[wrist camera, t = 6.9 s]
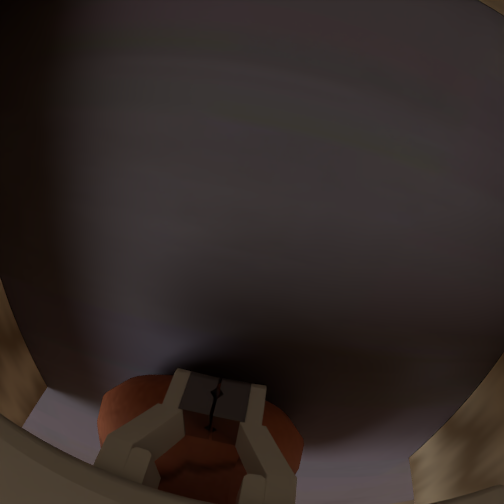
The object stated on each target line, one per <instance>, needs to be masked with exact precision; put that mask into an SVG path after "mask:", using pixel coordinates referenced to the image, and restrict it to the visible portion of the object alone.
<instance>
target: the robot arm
mask: <svg viewBox="0 0 504 504" xmlns="http://www.w3.org/2000/svg"><path fill="white" fill-rule="evenodd" d="M219 385H220V378H217V377H213V376H209V375H204V374H200V373H196V372H192V371H188V370H184V369H180V368H177V370H176V371H175V373H174V376H173V378H172V380H171V383H170V385H169V388H168V390H167V393H166V395H165V398H164V400H163V403H162V404H159V403H158V404H156V405H155V406H153V407H151V408H150V409H148V410H147V411H145V412H144V413H142V414H140V415H139V416H137V417H136V418H134V419H133V420H131V421H129V422H128V423H126V424H124V425H123V426H121V427H120V428H118V429H116V430H115V431H113V432H111V433H110V434H108V435H107V437H106V439H105V441H104V443H103V445H102V447H101V450H100V452H99V454H98V456H97V458H96V460H95V463H94V465H91V464H89V463H86V462H84V461H82V460H80V459H78V458H76V457H74V456H72V455H70V454H68V453H66V452H64V451H62V450H60V449H58V448H56V447H54V446H52V445H51V444H49V443H47V442H45V441H43V440H42V439H40V438H38V437H36V436H35V435H33V434H31V433H30V432H28V431H26V430H25V429H23V428H22V427H20V426H18V425H17V424H15V423H14V422H12V421H11V420H9V419H8V418H6V417H5V416H3V415H2V414H1V413H0V504H215V503H210V502H205V501H200V500H196V499H192V498H188V497H183V496H180V495H176V494H172V493H169V492H165V491H162V490H158V486H159V483H160V479H161V477H160V475H159V472H158V470H157V467H156V465H155V462H154V461H155V460H157V459H158V458H159V457H160V456H162V455H163V454H164V453H165V452H167V451H168V450H169V449H170V448H171V447H173V446H174V445H175V444H176V443H177V442H179V441H180V440H181V439H182V438H183V437H184V436H185V435H188V436H193V437H198V438H203V439H208V440H209V436H210V431H211V427H212V426H213V430H212V441H217V442H221V443H226V444H231V445H235V447H236V450H237V452H238V454H239V456H240V459H241V461H242V463H243V466H244V468H245V470H246V472H247V475H245V476H244V478H243V480H242V483H241V486H240V489H239V491H238V494H237V499H236V504H295V497H296V484H297V477H296V476H295V474H294V473H293V471H292V469H291V468H290V466H289V464H288V463H287V461H286V459H285V458H284V456H283V454H282V453H281V451H280V449H279V448H278V446H277V444H276V442H275V441H274V439H273V437H272V436H271V434H270V432H269V430H268V429H267V427H266V426H262V421H263V413H264V405H265V398H266V390H267V388H266V385H259V384H251V383H249V382H242V381H236V380H231V379H225V378H223V380H222V383H221V386H220V394H219V390H218V389H219ZM218 397H219V398H218ZM213 412H214V414H212V413H213ZM429 504H504V486H503V485H495V486H492V487H489V488H486V489H483V490H479V491H476V492H473V493H470V494H466V495H463V496H459V497H455V498H451V499H447V500H443V501H438V502H434V503H429Z"/></svg>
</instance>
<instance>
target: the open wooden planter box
mask: <svg viewBox="0 0 504 504" xmlns="http://www.w3.org/2000/svg"><path fill="white" fill-rule="evenodd" d="M479 1H480V2H482V3H484V4H486V5H487V6H489V7H491V8H492V9H494V10H496V11H497V12H499V13H500V14H502V15H504V0H479ZM46 388H47V386H46V384H45V382H44V380H43V378H42V376H41V375H40V373H39V371H38V369H37V367H36V365H35V363H34V361H33V359H32V357H31V355H30V352H29V350H28V348H27V346H26V344H25V342H24V339H23V337H22V335H21V332H20V330H19V328H18V325H17V323H16V320H15V318H14V315H13V313H12V310H11V308H10V305H9V302H8V299H7V296H6V294H5V291H4V288H3V285H2V282H1V279H0V413H1V414H2V415H3V416H5V417H6V418H8V419H9V420H11V421H12V422H14V423H15V424H17V425H18V426H20V427H22V426H23V424H24V423H25V421H26V419H27V418H28V416H29V415H30V413H31V412H32V410H33V408H34V407H35V405H36V404H37V402H38V401H39V399H40V398H41V396H42V394H43V393H44V391H45V390H46ZM409 462H410V469H411V476H412V483H413V492H414V501H415V504H429V503H434V502H438V501H443V500H447V499H451V498H455V497H459V496H463V495H466V494H470V493H473V492H476V491H479V490H483V489H486V488H489V487H492V486H495V485H503V486H504V353H503V354H502V356H501V357H500V358H499V360H498V361H497V363H496V364H495V365H494V367H493V368H492V369H491V371H490V372H489V373H488V375H487V376H486V377H485V379H484V380H483V381H482V382H481V384H480V385H479V386H478V387H477V389H476V390H475V391H474V392H473V393H472V395H471V396H470V397H469V398H468V399H467V400H466V402H465V403H464V404H463V405H462V406H461V407H460V408H459V409H458V411H457V412H456V413H455V414H454V415H453V416H452V417H451V418H450V419H449V420H448V421H447V422H446V423H445V424H444V425H443V426H442V427H441V428H440V429H439V430H438V431H437V432H436V433H435V434H434V435H433V436H432V437H431V438H430V439H429V440H428V441H427V442H426V443H425V444H424V445H423V446H422V447H421V448H420V449H418V450H417V451H416V452H415V453H414V454H413V455H412V456H411V457H409Z"/></svg>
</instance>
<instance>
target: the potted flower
mask: <svg viewBox="0 0 504 504" xmlns="http://www.w3.org/2000/svg"><path fill="white" fill-rule="evenodd" d="M173 376H174V375H143V376H137V377H133V378H130V379H128V380H127V381H125V382H123V383H121V384H120V385H118V386H116V387H115V388H113V389H111V390H110V391H108V392H106V393H105V395H104V396H103V399H102V403H101V407H100V411H99V416H98V420H97V426H98V433H99V439H100V446H101V447H102V445H103V443H104V441H105V439H106V437H107V435H108V434H110V433H111V432H113V431H115V430H116V429H118V428H120V427H121V426H123V425H124V424H126V423H128V422H129V421H131V420H133V419H134V418H136V417H137V416H139V415H140V414H142V413H144V412H145V411H147V410H148V409H150V408H151V407H153V406H155V405H156V404H158V403H159V404H162V403H163V400H164V398H165V395H166V393H167V390H168V388H169V385H170V383H171V380H172V378H173ZM220 386H221V383H220V385H219V389H218V390H219V394H220ZM218 398H219V397H218ZM212 414H214V412H213V413H212ZM262 426H266V427H267V429H268V430H269V432H270V434H271V436H272V437H273V439H274V441H275V442H276V444H277V446H278V448H279V449H280V451H281V453H282V454H283V456H284V458H285V459H286V461H287V463H288V464H289V466H290V468H291V469H292V471H293V473H294V474H296V472H297V471H298V469H299V465H300V461H301V456H302V451H303V446H304V440H303V438H302V436H301V435H300V433H299V432H298V430H297V429H296V427H295V426H294V424H293V423H292V421H291V420H290V418H289V417H288V415H286V414H285V413H284V412H283V411H282V410H281V409H279V408H278V407H276V406H275V405H273V404H272V403H270V402H268V401H266V400H265V405H264V413H263V421H262ZM212 430H213V426H212V427H211V431H210V436H209V440H208V439H203V438H198V437H193V436H188V435H185V436H184V437H183V438H182V439H181V440H180V441H179V442H177V443H176V444H175V445H174V446H173V447H171V448H170V449H169V450H168V451H167V452H165V453H164V454H163V455H162V456H160V457H159V458H158V459H157V460H155V461H154V462H155V465H156V467H157V470H158V472H159V475H160V477H161V479H160V483H159V486H158V490H162V491H165V492H169V493H172V494H176V495H180V496H183V497H188V498H192V499H196V500H200V501H205V502H210V503H215V504H236V499H237V494H238V491H239V489H240V486H241V483H242V480H243V478H244V476H245V475H247V472H246V470H245V468H244V466H243V463H242V461H241V459H240V456H239V454H238V452H237V450H236V447H235V445H231V444H226V443H221V442H217V441H212Z"/></svg>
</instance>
